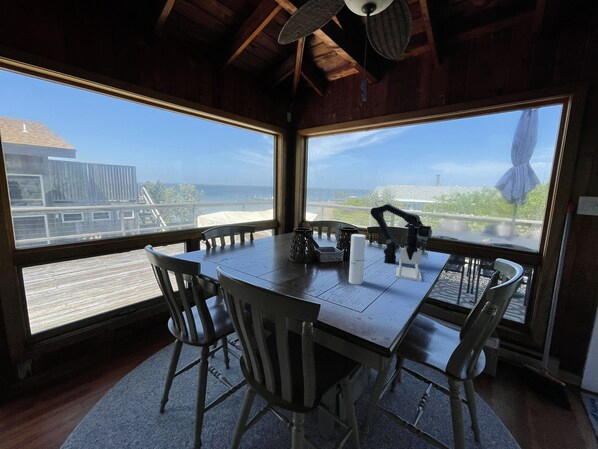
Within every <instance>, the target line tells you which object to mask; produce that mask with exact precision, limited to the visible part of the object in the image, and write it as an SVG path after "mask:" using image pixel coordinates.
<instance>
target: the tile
mask: <svg viewBox="0 0 598 449" xmlns="http://www.w3.org/2000/svg"><path fill="white" fill-rule="evenodd" d="M422 251H423V250H422V249H418V250H417V252H414V253H413V256H412V259H411V260H409V257H408V254H407V251H406V247H405V248H404V247H400V250H399V252H400V253H399V261H400V260H402V264H409V265H415V264H416V262H418V266H421V265H422V264H421V263H422V254H423V252H422Z"/></svg>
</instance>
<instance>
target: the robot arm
mask: <svg viewBox="0 0 598 449" xmlns="http://www.w3.org/2000/svg"><path fill="white" fill-rule="evenodd" d="M385 212H389V213H391V214H393V215H395V216H397V217H400V218H401V219H403V220H404V221H405V222H406V223H407V224H406V225H404V228H407V232H406V233H407V235H406V242H405V248H406V251H407V254H408V257H409V260H411V259H412V256H413V253H414V252H417V250H419V249H418V247H421V248H423V249H425V248H426V247H427V245H428V242H426V241H425V239H424V238H429V239H430V238H431V237H432V234H433V231H432V226H431V225H424V224H423V223H422V221H421V218H420V216H419V215H418V214H415V213H410V212H406V211H405V210H402V209H400V208H399V207H395V206H394V205H391V204H389V203H387V204H383V205H380V206H378V207H377V206H376V207H372V208H371V209H370V213H369V214H370V215H371V216H372V218H373V219H374V220H375V222H377V224H378V226H379V228H380V230H381V232H382V235H383V237H384V238H385V244H386V248H384V249H383V254H384V261H383V262H384V263H385V264H390V265H391V264H392V265H393V264H395V263H396V262H397V261H396V260H397V255H396V253H398V251H400V250H401V243H400V242H399V240H398V239H397V238H394V236H393V235H392V233H391V230H390V229H389V226H388V225H387V223H386V221H385V217H384V215H385V214H384V213H385ZM418 236H419V237H422V238H420V239H419V238H418ZM423 237H424V238H423Z"/></svg>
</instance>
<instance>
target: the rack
mask: <svg viewBox="0 0 598 449" xmlns="http://www.w3.org/2000/svg"><path fill="white" fill-rule="evenodd" d="M395 271H396V272H395V278H396V279H404V280H410V281H418V282H423V279H422V274H421V270H420V267H419V265H418V262H416V264H414V268H413V267H405V266H403V263H402V260H400V259H399V264H398V266H396V269H395Z"/></svg>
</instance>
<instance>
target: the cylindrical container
mask: <svg viewBox="0 0 598 449" xmlns="http://www.w3.org/2000/svg"><path fill="white" fill-rule="evenodd" d="M366 238H367V235H366V234H362V233H361V234H360V233H353V234H351V236H350V254H349V255H350V256H349V271H348V283H350V284H352V285H362V284H363V282H364V271H365V269H364V267H365V256H366V255H365V252H366V240H367V239H366Z"/></svg>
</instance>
